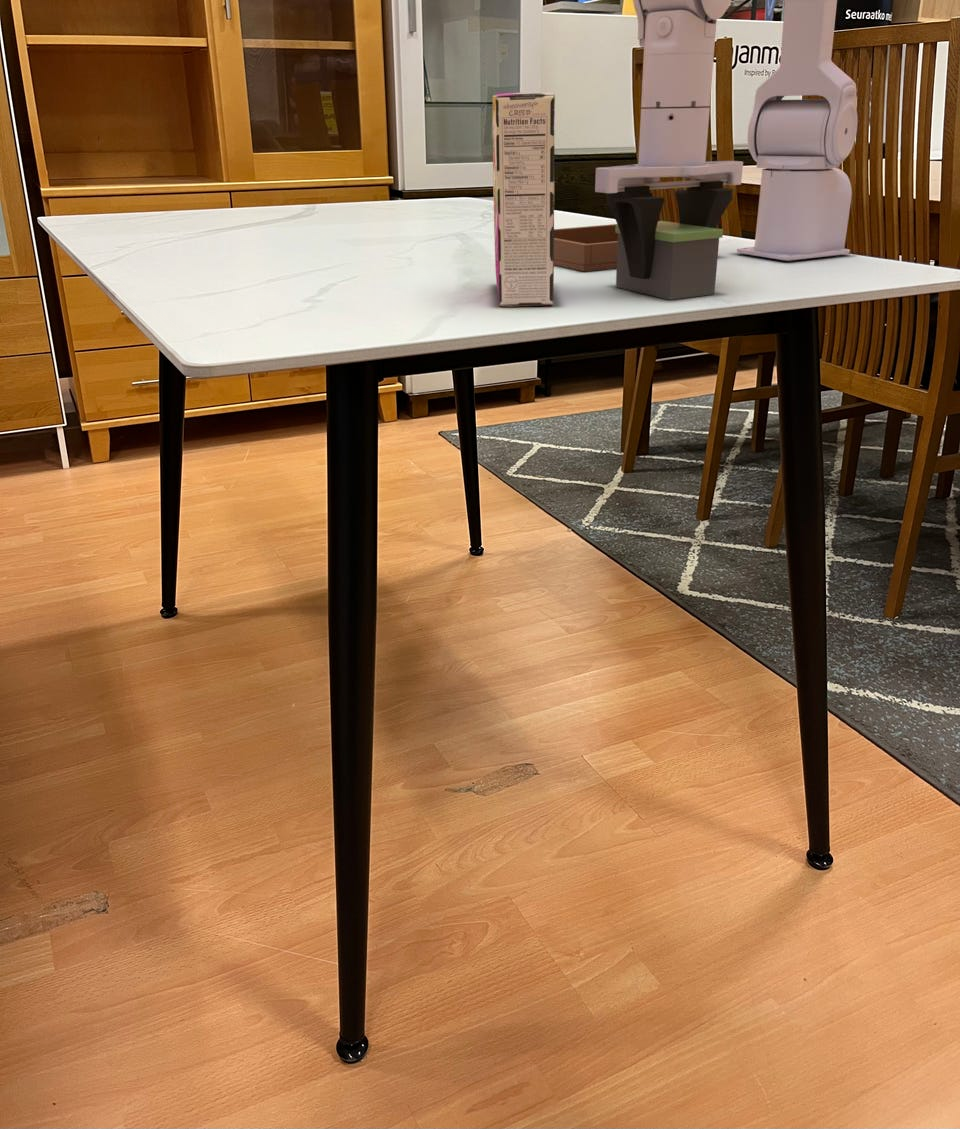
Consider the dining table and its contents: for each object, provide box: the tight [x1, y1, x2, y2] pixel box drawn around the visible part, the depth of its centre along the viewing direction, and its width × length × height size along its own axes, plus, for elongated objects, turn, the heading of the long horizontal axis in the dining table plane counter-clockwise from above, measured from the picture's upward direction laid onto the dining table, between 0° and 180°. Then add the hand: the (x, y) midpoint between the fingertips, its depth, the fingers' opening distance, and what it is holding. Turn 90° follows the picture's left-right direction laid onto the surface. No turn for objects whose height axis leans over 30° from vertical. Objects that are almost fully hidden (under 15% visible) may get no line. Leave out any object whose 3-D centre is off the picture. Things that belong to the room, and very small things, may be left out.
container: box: [615, 220, 724, 301], centre depth 86 cm, size 5×8×6 cm, turn 28°
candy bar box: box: [492, 92, 556, 308], centre depth 83 cm, size 11×5×16 cm, turn 0°
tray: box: [554, 223, 618, 273], centre depth 107 cm, size 18×14×3 cm
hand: (664, 274), depth 87 cm, fingers closed on container, 5 cm apart
